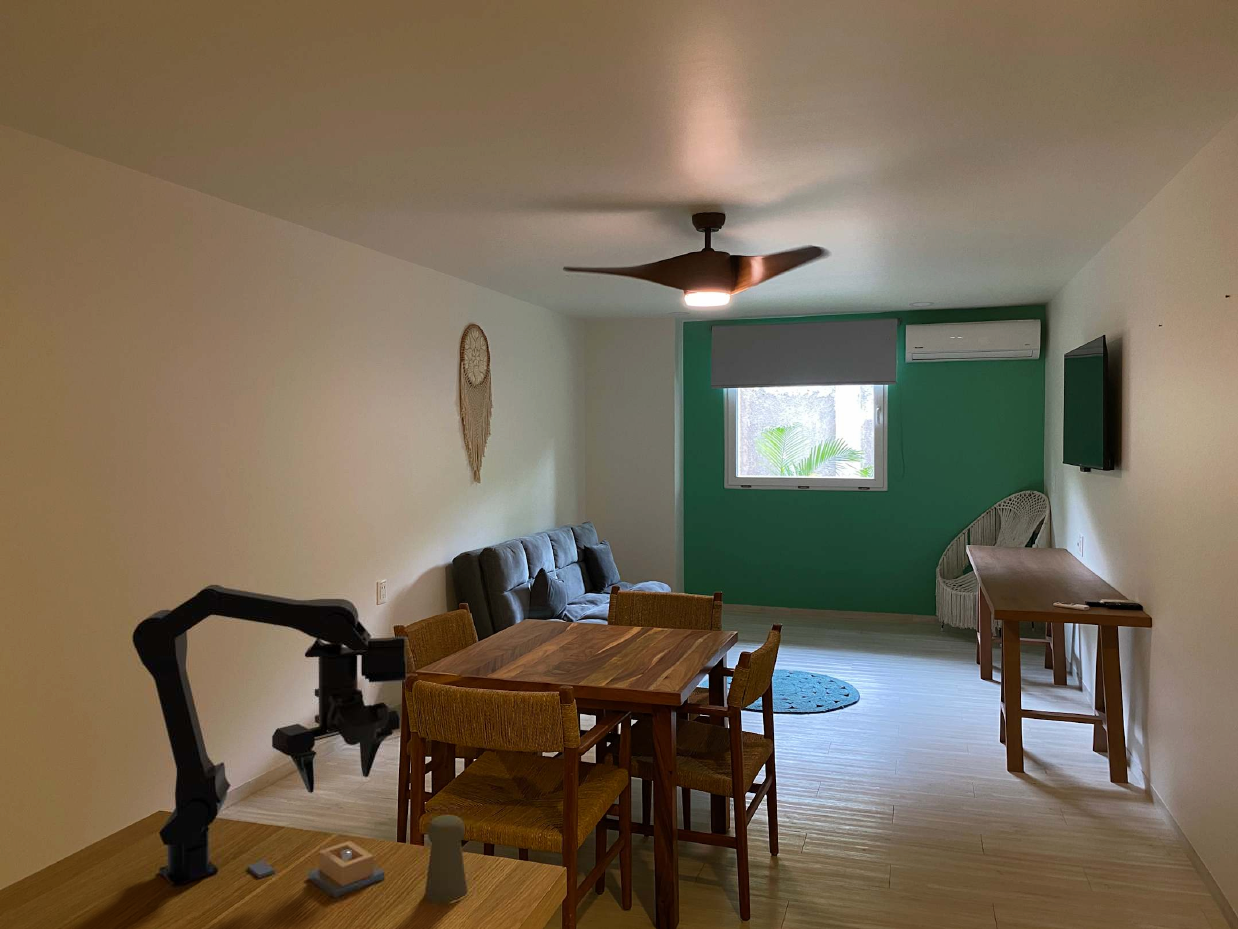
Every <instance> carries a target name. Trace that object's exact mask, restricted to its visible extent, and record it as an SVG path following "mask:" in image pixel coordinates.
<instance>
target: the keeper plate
mask: <svg viewBox="0 0 1238 929" xmlns="http://www.w3.org/2000/svg"><path fill="white" fill-rule="evenodd" d="M341 860H343V861H344V862H348V861H351V860H352V850H343V851H341ZM307 872H308V875H307V876H308V878H307V879H308V880H309V881H312V882H313V883H314V884H316V885H317V886H318V887H320V888H321V889H322V890H324V891H325V892H326V893H328V894H329V895H330V896H332V897H334V898H338V897H341V896H343V895H345V894H349V893H351V892H354V891H356V890H359V889H362V888H364V887H367V886H369V885H372V884H375V883H377V882H380V881H383V880H385V878H386V877H385V875H386V874H385V871H384V870H382V869H380V868H379V867H377V866H376V865H374V875H371V876H368V877H366V878H363V879H360V880H358V881H355V882H352V883H350V884H347V885H344V886H342V885H340V884H339V883H337V882H336V881H335V880H333V879H332V878H330V877H329V876H327V875H326V874H325V873H323V872H322V871H320V870H319V867H317V868H314V869H312V870H308V871H307Z"/></svg>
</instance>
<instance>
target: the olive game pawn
mask: <svg viewBox="0 0 1238 929" xmlns="http://www.w3.org/2000/svg"><path fill="white" fill-rule="evenodd" d="M428 824H429V825H428V826H427V837H428V840H429V841H430V844H431V845H430V852H429V853H430V854H429V860H428V867H427V868H428V870H427V875H426V881H425V882H426V883H425V888H424V889H425V891H424V898H425V900H427V901H428V902H430V903H431V904H436V905H447V904H446V903H450V902H452V901H454V900H458V899H460V898H461V897H463V896H465V895H466V893H467V894H468V889H467V888H468V887H467V881H466V880H467V879H466V878H467V877H466V871H465V865H464V864H465V863H464V857H463V848H462V840H463V838H464V835H465V833H466V832H465V829H466V828H465V823H464V821H463V820H462V818H460V817H459V816H456V815H453V814H443V815H442V814H441V815H439V816H436V817H435V818H433V819H431V821H430V823H428ZM466 896H467V895H466Z"/></svg>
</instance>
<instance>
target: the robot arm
mask: <svg viewBox="0 0 1238 929" xmlns="http://www.w3.org/2000/svg"><path fill="white" fill-rule="evenodd" d="M210 616H217V617H225V618H230V619H237V620H241V621H242V620H243V621H248V622H255V623H260V624H262V623H263V624H268V625H272V626H273V625H274V626H280V627H285V628H286V627H287V628H291V629H294V630H297V631H299V632H300V633H303V634H305V635H307V636H309V637H311V638H315V640H314V643H313V644H311V645H310V646H309V647H308V648H307V650H306V651H305V653H304V657H306V658H318V687H317V688H315V689H314V696H315V697H316V698H318V714H317V715H314V723H316V724H318V726H315V727H312V728H307V727H306V726H303V725H301V724H299V723H294V724H292V725H286V726H283V727H278V728H276V729H275V731H274V733H273V734H272V736H271V747H272V748H273V749H275V750H276V751H279V752H280V753H282V754H284V755H285V756H287V757H290V758H291V759H292V762H294V765H295V767H296V768H297V770H298V772H299V775H300V776H301V777H300V778H301V779H302V781H303V784H304V786H305V789H306V790H307V792H308V793H310V794H312V793H313V792H314V788H315V787H314V786H315V776H314V759H315V757H316V755H317V751H315V750H313V748H314V747H315V745H316V744H315V743H316V741H320V740H324V739H328V738H332V737H335V736H339V735H340V736H341V737H342V739H343V740H344V743H345V744H347V745H349V746H355V745H358V744H359V751H360V752H359V754H360V768H361V773H362V776H363V777H365V778H368V777H369V775H370V772H371V770H372V767H373V764H374V761H375V758H376V755H377V753H378V750H379V748H380V746H381V744H382V743H383V742H384V741H385V740H386V739H387V738H388V737H390V736H392V735H393V734H394V731H396V730H399V729H400V728H401V716H400V713H399V712H398V710H396V709H394V708H391V707H389V706H388V705H387V704H386V703H385V702H383V701H382V702H380V703H379V702H378V703H374V704H367V705H366V704H365V702H364V694H363V691H362V689H359V687H358V684H359V683H358V656H361V662H360V663H361V664H360V666H361V667H360V671H361V677H364V679H365V680H368V682H369V683H385V682H387V683H388V682H407V670H408V669H407V665H408V664H407V660H408V659H407V656H408V655H407V653H406V638H405V637H406V636H404V635H398V636H396V635H395V636H392V637H378V638H377V637H375V638H373V637H372V635H371V633H369V630H367V629H366V628H365V626H364V625H363V623H361V622H360V620H359V613H358V609H357V607H356V606H355V605H354V604H353V602H351V601H349V600H347V599H345V598H344V599H343V598H317V599H300V600H299V599H294V598H288V597H281V596H276V595H269V594H263V593H257V592H252V591H246V590H242V589H241V590H240V589H233V588H228V587H224V586H222V585H218V584H210V585H207V586H205V587H204V588H202V589H201V590H200V591H199V592H197V593H196V594H195V595H194V596H193V597H192V596H191V598H189V599H188V600H186V601H185V602H183V603H181V604H179V605H177V607H175V608H173V609H161V610H158V611H156V612H154V613H151V615H149V616H148V617H146V618H145V619H143V620H142V621H141V622H140V623H138V624H137V626H136V627H135V629H134V631H133V633H132V643H133V647H134V648H135V650H136V653H137V655H138V657H139V659H140V661H141V663H142V665H143V666H144V668H145V669H146V670H147V671H148V672H149V674H150V675H151V677H152V678H153V681H154V683H155V687H156V691H157V695H158V699H159V703H160V707H161V711H162V716H163V719H164V723H165V728H166V732H167V736H168V739H169V743H170V748H171V751H172V756H173V759H174V764H175V767H176V778H175V788H174V789H175V790H174V791H175V792H174V799H175V808H174V809H173V810H172V813H171V814H170V815H169V817H168V819H167V820H166V821H165V823H164V825H163V826H162V828H161V829H160V830H159V832H158V835H159V836H160V839H161V841H162V843H163V845H164V846H166V855H167V856H166V858H167V860H166V862H167V864H166V865H165V866H161V867H160V868H158V873H159V872H160V873H161V874H162V875H163V876H164V877H163V876H162V875H161V874H160V873H159V874H160V875H161V876H162V877H163V878H164V879H166V880H167V882H169V883H170V884H171V886H174V887H175V886H176V887H177V886H180V885H182V884H186V883H188V882H191V881H195V880H197V879H201V878H204V877H207V876H210V875H213V874H217V873H218V872H219V867H218V866H216V865H215V864H214V863H213V862H212V861H210V828H209V827H210V825H211V824H213V823H214V821H215V819H216V818H217V817H218V814H219V812H220V811H221V809H222V807H223V805H224V804H225V801H226V800H227V796H228V791H229V789H230V788H231V784H230V782H229V781H228V779H227V777H226V767H225V766H226V765H225V763H224V762H223V761H222V762H221V763H218V764H216V765H215V764H214V762H213V761H212V760H211V759H210V758H209V755H208V752H207V748H206V745H205V742H204V741H205V739H204V738H203V737H204V736H203V734H202V729H201V725H200V721H199V717H198V713H197V707H196V704H195V699H194V695H193V692H192V688H191V684H190V680H189V676H188V671H187V654H188V631H190V629H192V628H193V627H195V626H196V625H198V624H199V623H201V622H202V621H204V620H205V619H207V618H208V617H210ZM344 646H345V647H344Z"/></svg>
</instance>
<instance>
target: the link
mask: <svg viewBox="0 0 1238 929" xmlns="http://www.w3.org/2000/svg"><path fill="white" fill-rule="evenodd" d="M343 850H352V860H351V861H348V862H344V861H343V860H341V851H343ZM374 860H375V858H374V855H373V854H371V853H370V852H368V851H367V850H365V849H363V847H360V846H359V845H357V844H356V843H354V842H353V841H351V840H347V841H344V842H343V843H339V844H336V845H333V846H330V847H327V848H324V849H321V850H319V851H318V868H319V870H320V871H322V872H323V873H325V874H326V875H327V876H329V877H330V878H332V879H333V880H335V881H336V882H337V883H339V884H340V885H342V886H344V885H347V884H350V883H352V882H355V881H358V880H360V879H363V878H366V877H368V876H371V875H374V866H375V865H374V864H375V863H374V862H375V861H374Z"/></svg>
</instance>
